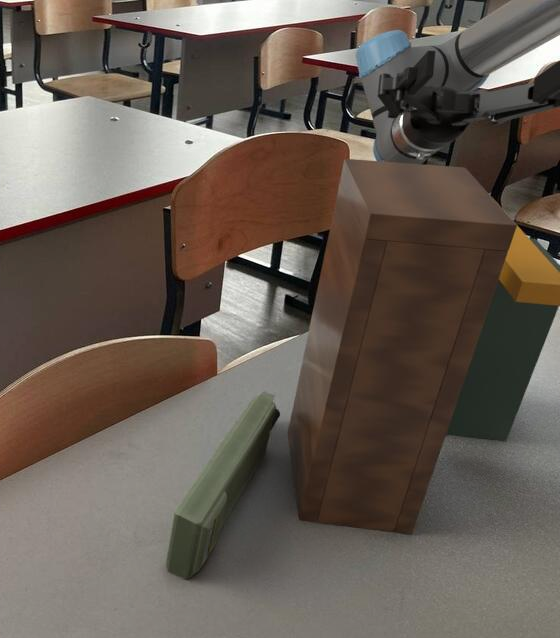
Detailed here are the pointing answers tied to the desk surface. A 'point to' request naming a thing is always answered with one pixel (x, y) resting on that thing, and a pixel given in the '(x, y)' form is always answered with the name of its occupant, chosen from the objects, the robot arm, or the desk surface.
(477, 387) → the pedestal
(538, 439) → the desk surface
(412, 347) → the tall wooden panelled box
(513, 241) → the orange rectangular bar
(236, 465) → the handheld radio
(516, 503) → the desk surface
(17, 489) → the desk surface
